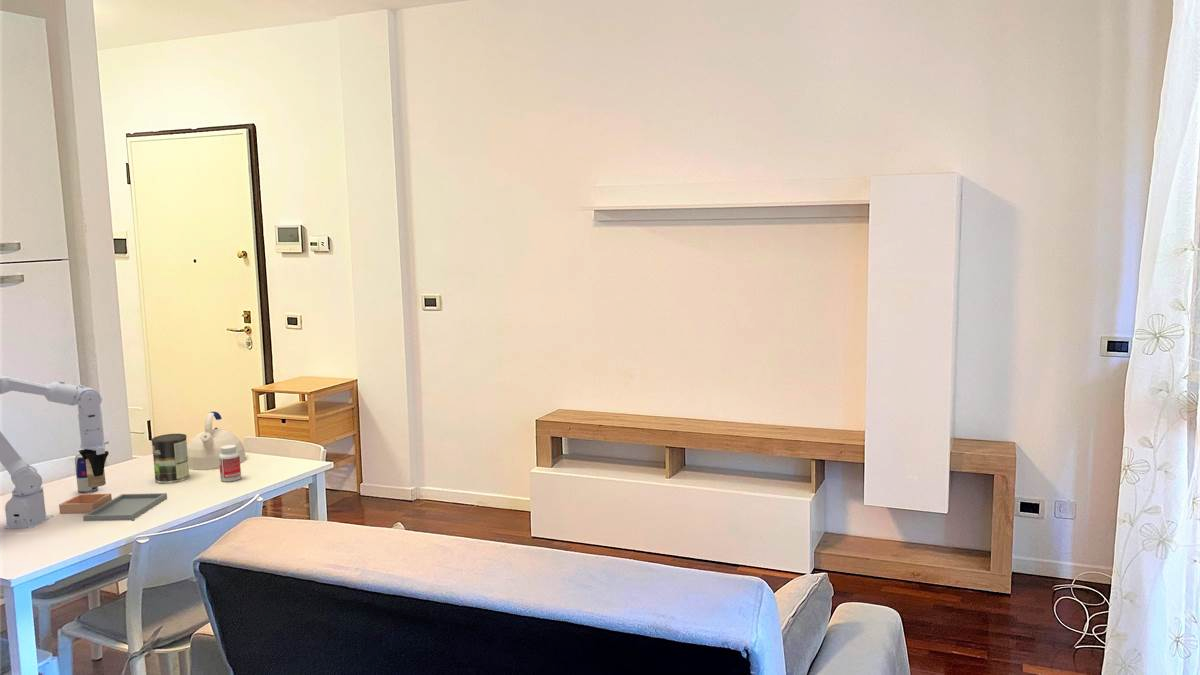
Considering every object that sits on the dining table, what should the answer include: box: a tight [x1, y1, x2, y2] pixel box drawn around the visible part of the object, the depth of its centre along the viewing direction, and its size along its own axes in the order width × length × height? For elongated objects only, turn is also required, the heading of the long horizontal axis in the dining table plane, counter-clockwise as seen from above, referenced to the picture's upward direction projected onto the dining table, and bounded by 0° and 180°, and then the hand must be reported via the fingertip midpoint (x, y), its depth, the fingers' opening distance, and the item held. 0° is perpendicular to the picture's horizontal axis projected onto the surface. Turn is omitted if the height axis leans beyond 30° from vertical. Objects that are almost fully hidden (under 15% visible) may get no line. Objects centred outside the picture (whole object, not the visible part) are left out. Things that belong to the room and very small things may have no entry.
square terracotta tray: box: [58, 493, 113, 514], centre depth 247 cm, size 10×10×3 cm
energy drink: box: [74, 453, 99, 494], centre depth 262 cm, size 5×5×12 cm
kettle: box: [187, 411, 247, 471], centre depth 295 cm, size 20×21×18 cm
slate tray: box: [82, 492, 168, 522], centre depth 245 cm, size 20×14×2 cm
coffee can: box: [151, 433, 190, 484], centre depth 275 cm, size 10×10×14 cm
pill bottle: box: [219, 445, 242, 483], centre depth 274 cm, size 6×6×11 cm
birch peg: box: [86, 458, 106, 488], centre depth 246 cm, size 4×4×8 cm
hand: (96, 474), depth 246 cm, fingers closed on birch peg, 4 cm apart
